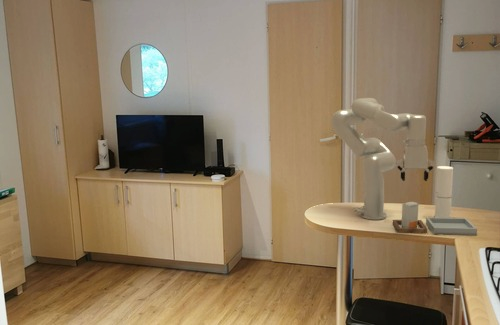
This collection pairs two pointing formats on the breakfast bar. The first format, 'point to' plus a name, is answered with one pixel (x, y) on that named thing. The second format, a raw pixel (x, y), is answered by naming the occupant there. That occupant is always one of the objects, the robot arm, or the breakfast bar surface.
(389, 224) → the breakfast bar surface
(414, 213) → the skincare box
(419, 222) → the frame
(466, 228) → the grey tray
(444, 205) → the cylindrical container
